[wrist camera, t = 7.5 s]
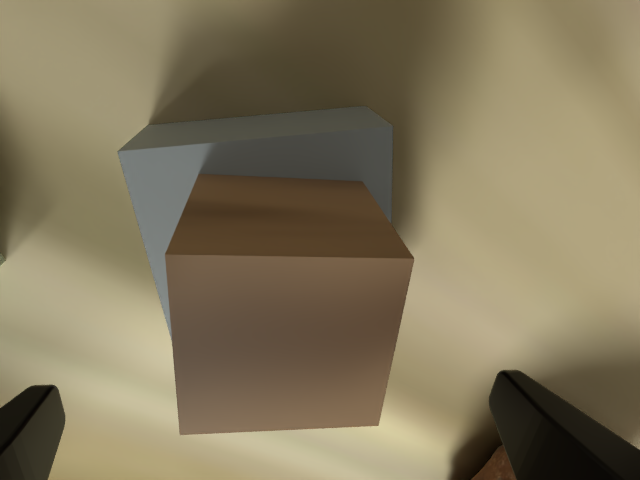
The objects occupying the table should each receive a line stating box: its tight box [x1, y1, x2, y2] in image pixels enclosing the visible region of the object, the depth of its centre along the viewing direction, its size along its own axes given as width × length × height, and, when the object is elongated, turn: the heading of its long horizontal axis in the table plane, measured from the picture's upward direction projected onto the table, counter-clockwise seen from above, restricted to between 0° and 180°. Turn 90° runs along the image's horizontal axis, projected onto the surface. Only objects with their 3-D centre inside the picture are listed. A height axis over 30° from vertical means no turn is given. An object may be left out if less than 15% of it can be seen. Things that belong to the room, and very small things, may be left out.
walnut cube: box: [165, 174, 414, 435], centre depth 12 cm, size 5×5×5 cm
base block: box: [117, 106, 393, 340], centre depth 16 cm, size 8×8×4 cm
